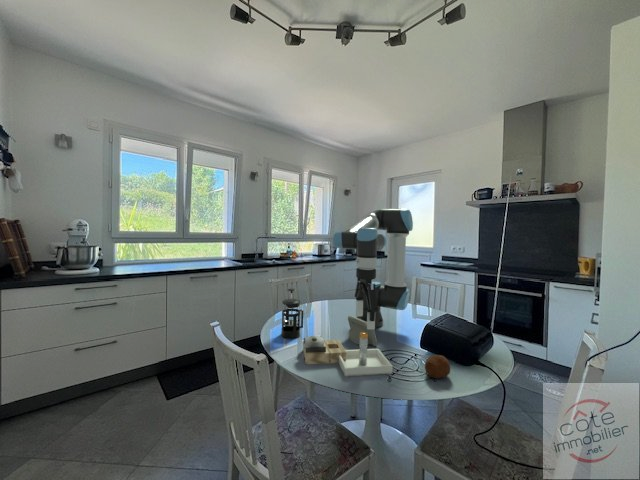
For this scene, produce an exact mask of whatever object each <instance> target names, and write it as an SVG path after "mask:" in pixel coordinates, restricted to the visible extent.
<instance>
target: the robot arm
mask: <svg viewBox="0 0 640 480" xmlns="http://www.w3.org/2000/svg"><path fill="white" fill-rule="evenodd" d="M413 224H414V221H413V216H412V212H411V210H410V209H408V208H381V209H376V210H373V211H370V212H369V213H367V214H365V215H364V216H363V217H362V219H361V220H359V221H358V222H357V223H355V224H354V225H352V226H351V227H349V228H348V229H346V230H345V231H342V230H341V231H336V232H335V233H334V234H333V237H332V243H333V246H334V247H335V248H337V249H341V250H356V259H355V262H356V267H357V268H356V269H355V270H356V273H355V278H357V280H356V287H355V293H354V298H355V300H356V302H355V316H356V318H358V319H361V320H363V321H365V322H367V329H374V330H375V329H376V328H381V327H382V326H383V325H384V318H383V315H382V312H381V308H386V309H392V310H397V311H398V310H399V311H404V310H405V309H407V306H408V304H409V301H410V294H411V291H410V290H411V289H409V288H408V284H407V283H406V282H405V268H406V267H405V265H406V242H407V237H408V236H409V235H410V232H412V231H413V227H414V225H413ZM378 231H386V235H387V236H388V237H389V238H388V239H389V240H388V259H387V261H388V262H387V265H388V266H387V280H386V281H385V282H384V285H382V282H380V281H373V280H375V279H376V278H377V269H376V268H377V264H378V263H377V261H378V260H377V259H378V257H377V253H378V252H377V251H381V250H383V249H384V248H385V247H386V245H387V237H386V235H384V234H383V233H382V232H378Z"/></svg>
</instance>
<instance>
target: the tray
mask: <svg viewBox="0 0 640 480" xmlns="http://www.w3.org/2000/svg"><path fill="white" fill-rule="evenodd" d="M345 351H346V361H344V360H343V358H342V357H341V355H339V363H338V365H339V367H340V368H341V370H342V371H341V372H342V373H343V375H344V377H346V378H347V377H348V378H349V377H359V376H360V377H362V376H375V375H376V376H377V375H389V374H390V375H391V374H393V367H394V366H393V365H392V363H391V361H389V360H388V359H387V357H386V356H385V355H384V354H383V353H382V351H381V350H380V348H367V365H365V366H362V365H360V364H359V349H345Z"/></svg>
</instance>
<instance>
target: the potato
mask: <svg viewBox="0 0 640 480" xmlns="http://www.w3.org/2000/svg"><path fill="white" fill-rule="evenodd" d="M424 369H425V372H426V373H427V375H428V376H429V377H431V378H433V379H441V378H445V377H447V376H448V375H450V373H451V366H450V362H449V360H448V359H447V358H446V357H445V356H444V355H441V354H434V355H431V356H429V357H427V359H426V360H425V364H424Z"/></svg>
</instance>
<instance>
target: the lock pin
mask: <svg viewBox="0 0 640 480" xmlns="http://www.w3.org/2000/svg"><path fill="white" fill-rule="evenodd" d="M367 341H368V333H366V332H360V345H358V346H359V347H358V350H359V364H360V365H362V366H365V365H367V349H368V345H367Z"/></svg>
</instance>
